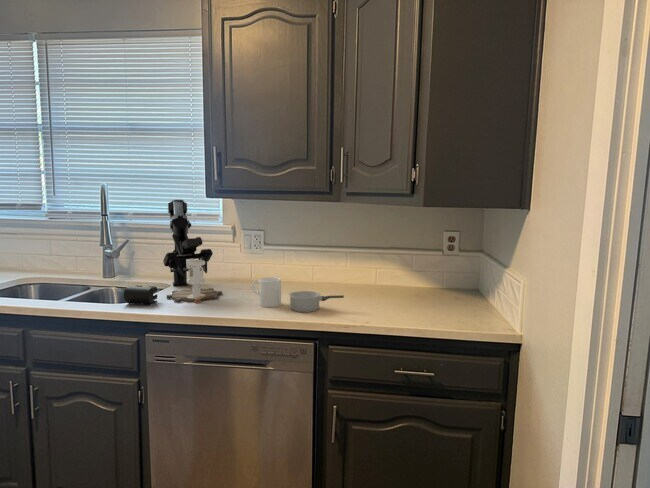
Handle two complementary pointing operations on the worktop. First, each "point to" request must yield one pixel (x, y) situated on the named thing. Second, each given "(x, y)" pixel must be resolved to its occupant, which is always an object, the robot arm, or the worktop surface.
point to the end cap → (140, 295)
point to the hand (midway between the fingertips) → (195, 274)
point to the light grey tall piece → (195, 275)
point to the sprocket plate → (187, 297)
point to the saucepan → (307, 300)
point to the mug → (269, 291)
